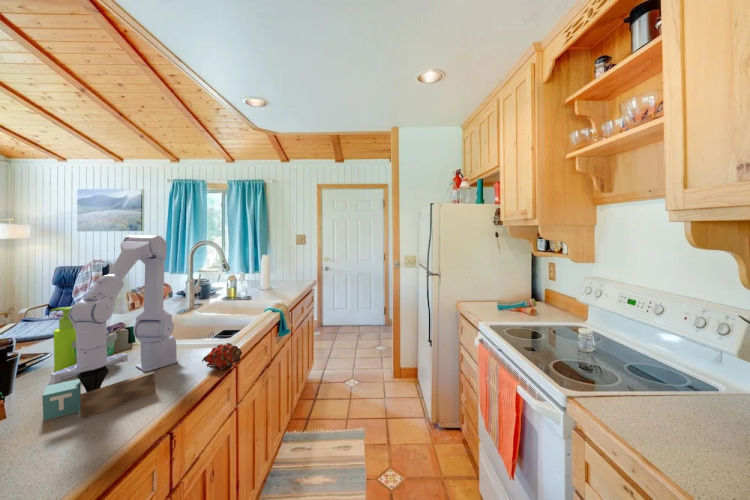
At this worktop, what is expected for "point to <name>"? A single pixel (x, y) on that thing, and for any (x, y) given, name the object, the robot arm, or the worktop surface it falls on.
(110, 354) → the food container
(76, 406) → the teal cube
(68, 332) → the soap dispenser
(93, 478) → the worktop surface
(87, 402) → the walnut block
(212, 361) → the dragon fruit
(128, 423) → the worktop surface
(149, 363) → the robot arm
